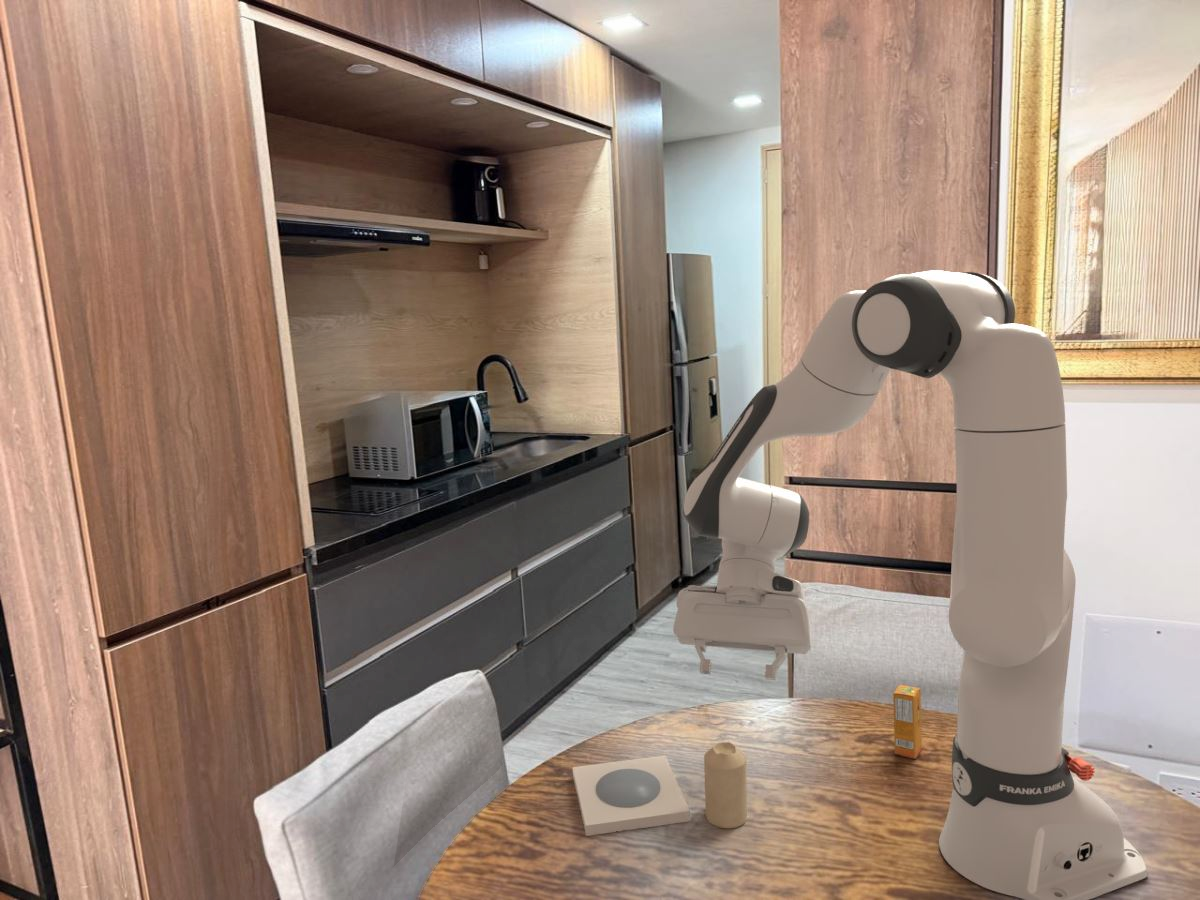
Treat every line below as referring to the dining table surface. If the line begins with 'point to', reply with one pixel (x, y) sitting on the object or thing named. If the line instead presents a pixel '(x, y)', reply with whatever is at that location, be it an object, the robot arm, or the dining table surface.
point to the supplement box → (907, 721)
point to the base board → (629, 795)
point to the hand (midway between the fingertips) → (737, 675)
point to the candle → (725, 786)
